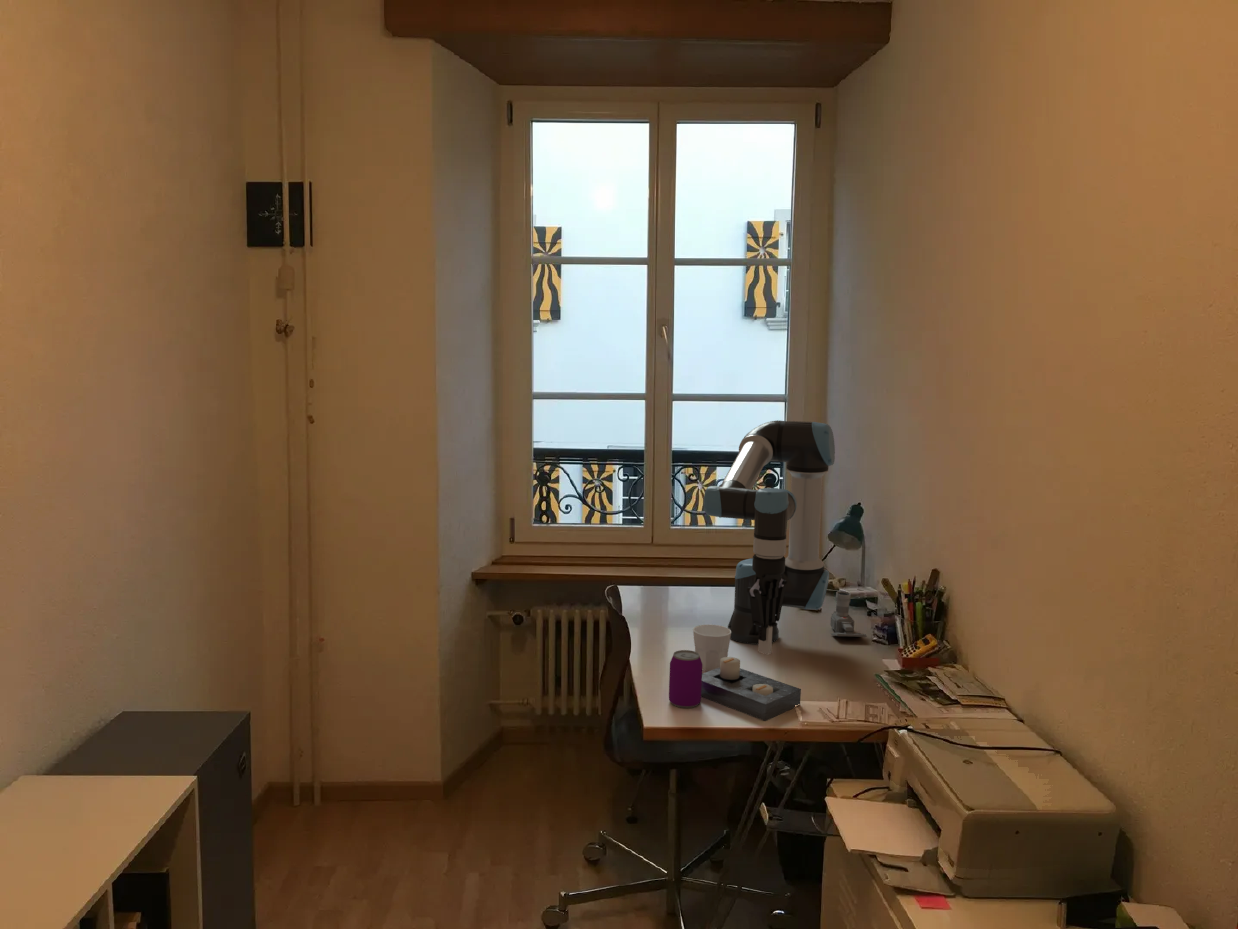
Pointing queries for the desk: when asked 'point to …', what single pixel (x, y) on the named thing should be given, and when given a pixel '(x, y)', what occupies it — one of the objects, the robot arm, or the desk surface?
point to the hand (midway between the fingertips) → (764, 652)
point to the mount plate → (749, 694)
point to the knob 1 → (729, 668)
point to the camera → (843, 617)
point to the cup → (711, 644)
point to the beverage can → (685, 679)
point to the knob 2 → (763, 689)
